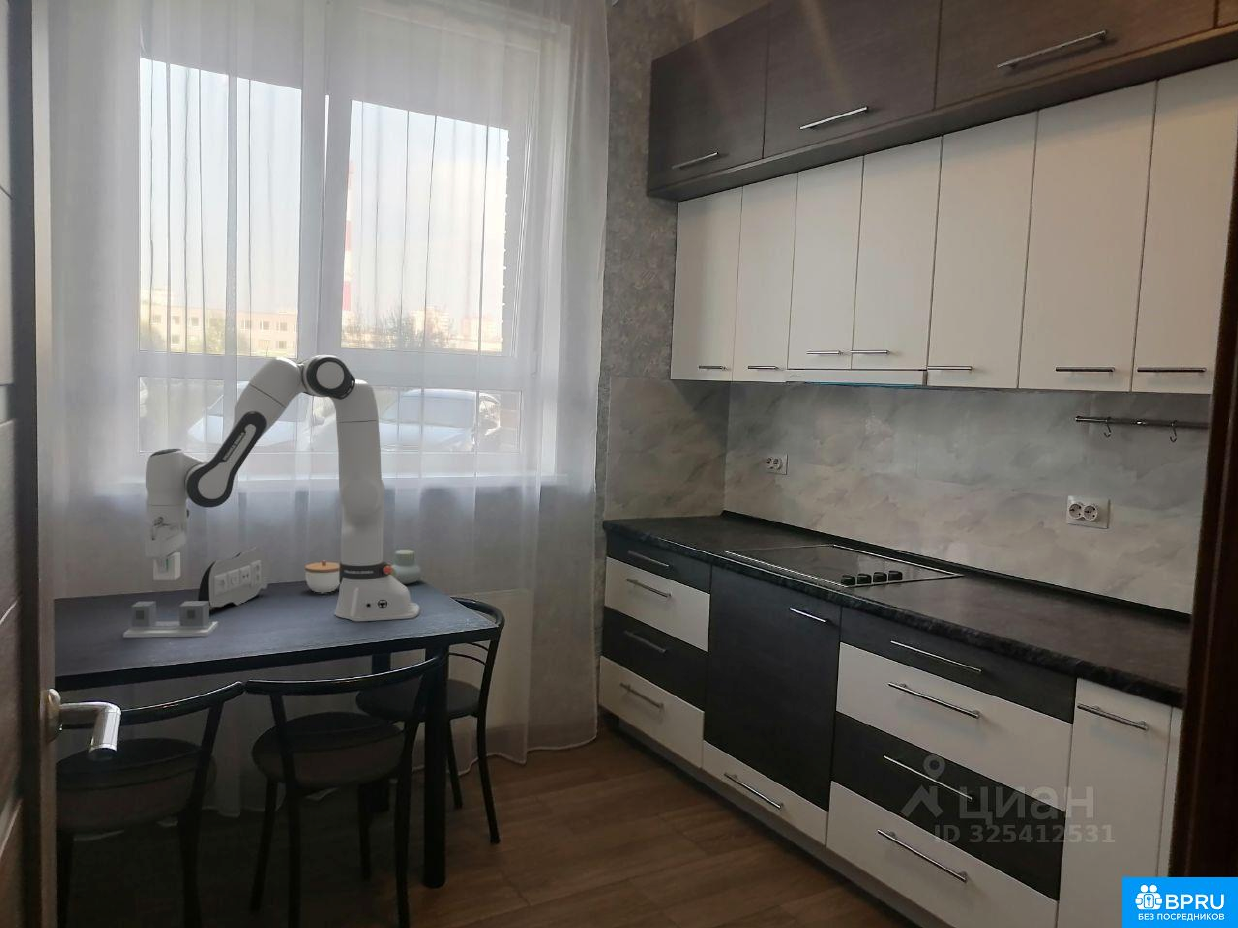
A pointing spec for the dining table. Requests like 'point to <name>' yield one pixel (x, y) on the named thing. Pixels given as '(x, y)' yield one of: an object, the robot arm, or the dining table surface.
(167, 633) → the back plate
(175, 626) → the grey rectangular block
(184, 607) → the mounted modules
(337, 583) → the lidded jar
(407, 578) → the air freshener
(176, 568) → the din module
